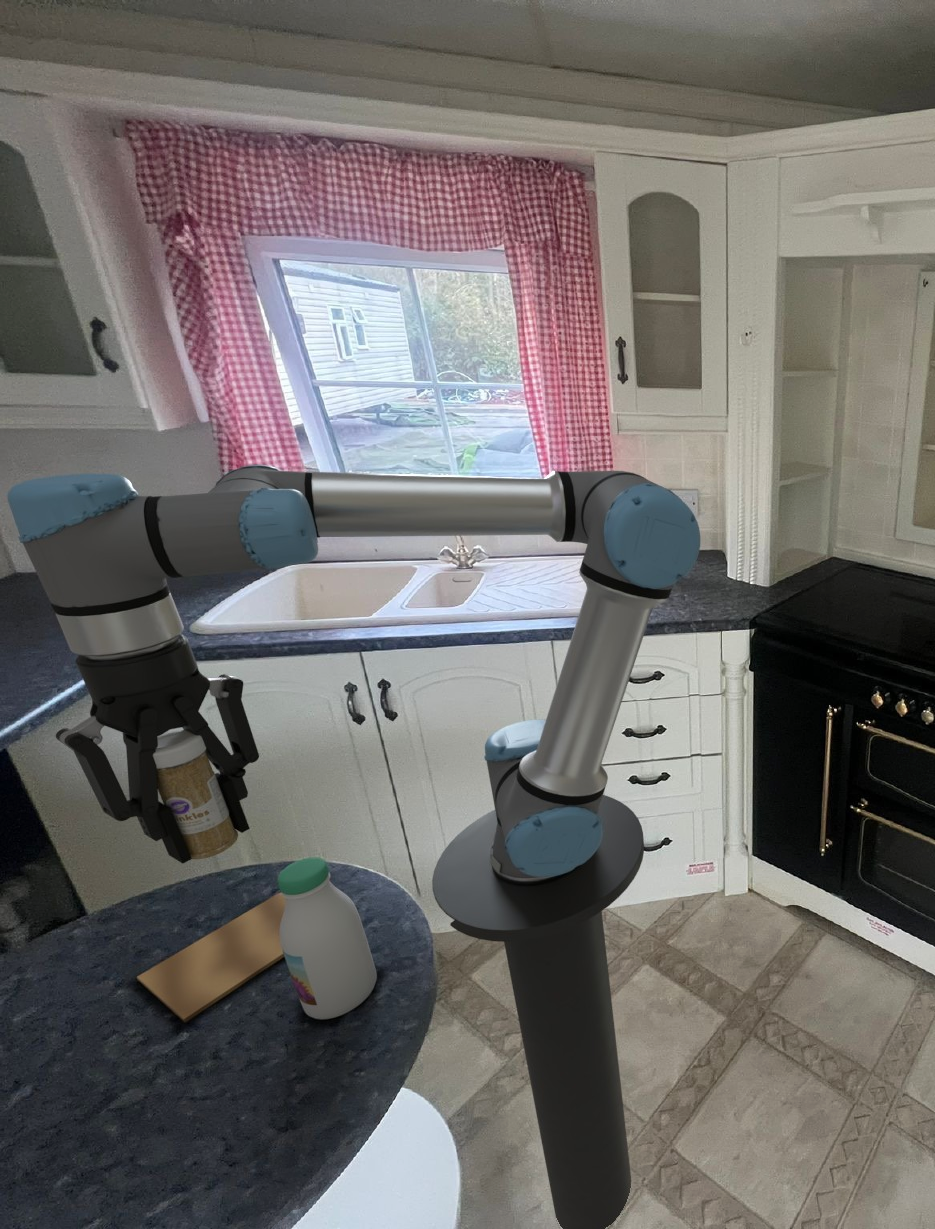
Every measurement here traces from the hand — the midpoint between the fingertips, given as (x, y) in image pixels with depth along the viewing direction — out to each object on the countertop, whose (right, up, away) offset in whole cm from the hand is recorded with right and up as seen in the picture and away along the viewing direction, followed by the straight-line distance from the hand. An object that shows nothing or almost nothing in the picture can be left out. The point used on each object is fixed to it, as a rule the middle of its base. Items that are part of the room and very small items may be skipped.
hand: (210, 841), depth 70 cm
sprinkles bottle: (0, -1, 0) cm, 1 cm away
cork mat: (-13, -21, +17) cm, 30 cm away
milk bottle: (+5, -24, +13) cm, 27 cm away
